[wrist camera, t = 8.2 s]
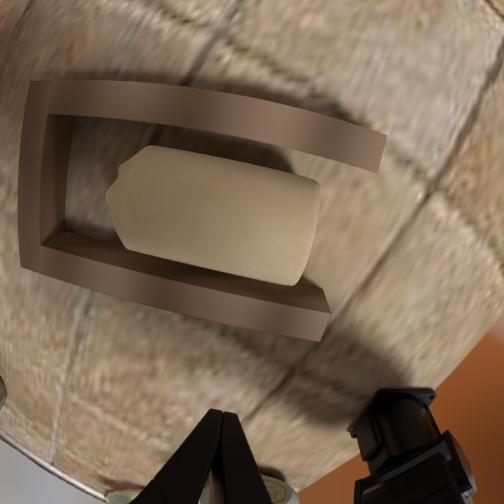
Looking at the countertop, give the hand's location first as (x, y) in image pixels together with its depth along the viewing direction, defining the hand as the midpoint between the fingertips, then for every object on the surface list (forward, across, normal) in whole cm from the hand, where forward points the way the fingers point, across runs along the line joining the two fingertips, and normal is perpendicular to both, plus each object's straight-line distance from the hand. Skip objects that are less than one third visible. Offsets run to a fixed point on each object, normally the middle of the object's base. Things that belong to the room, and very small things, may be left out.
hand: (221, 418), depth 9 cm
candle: (+9, -2, -4) cm, 10 cm away
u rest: (+12, +4, -4) cm, 13 cm away
